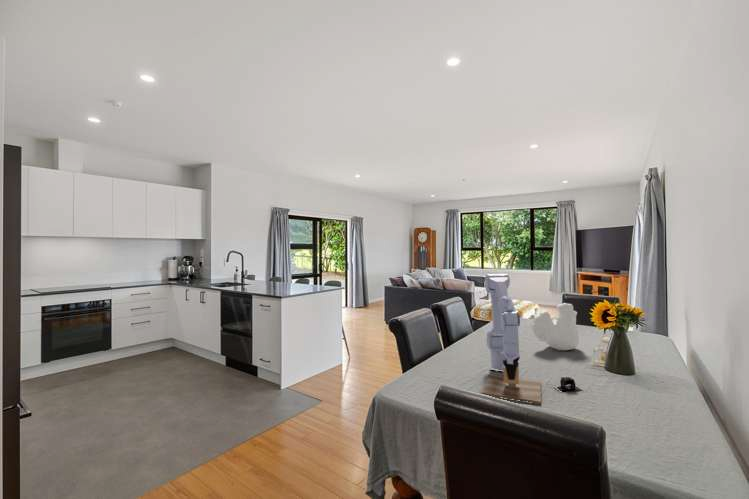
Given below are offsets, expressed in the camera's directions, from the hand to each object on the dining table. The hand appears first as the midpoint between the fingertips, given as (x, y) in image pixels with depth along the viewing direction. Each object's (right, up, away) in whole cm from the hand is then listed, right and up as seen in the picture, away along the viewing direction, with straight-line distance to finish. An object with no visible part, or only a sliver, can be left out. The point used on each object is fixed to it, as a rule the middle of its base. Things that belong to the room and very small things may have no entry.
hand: (512, 376), depth 131 cm
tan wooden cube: (0, -2, 0) cm, 2 cm away
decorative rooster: (+45, -4, +52) cm, 68 cm away
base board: (0, -5, 0) cm, 5 cm away
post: (0, -4, 0) cm, 4 cm away
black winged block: (+22, -5, -1) cm, 22 cm away
